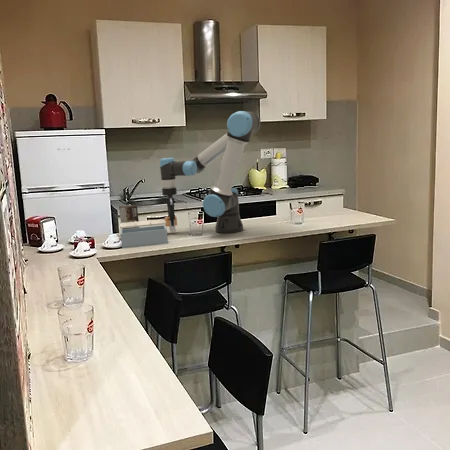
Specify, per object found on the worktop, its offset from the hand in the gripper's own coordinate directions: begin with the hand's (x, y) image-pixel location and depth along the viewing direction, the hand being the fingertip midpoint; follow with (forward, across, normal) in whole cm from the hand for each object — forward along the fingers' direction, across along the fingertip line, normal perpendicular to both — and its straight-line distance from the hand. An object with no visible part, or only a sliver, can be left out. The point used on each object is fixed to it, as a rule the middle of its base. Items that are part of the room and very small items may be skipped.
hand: (172, 231), depth 277 cm
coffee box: (+2, -14, -22) cm, 26 cm away
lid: (-3, 0, -12) cm, 13 cm away
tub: (+2, +19, -16) cm, 25 cm away
